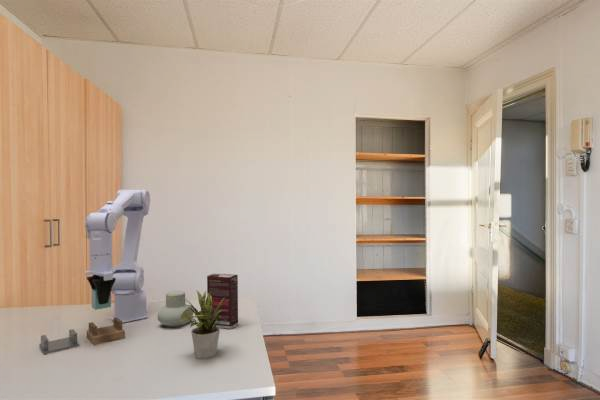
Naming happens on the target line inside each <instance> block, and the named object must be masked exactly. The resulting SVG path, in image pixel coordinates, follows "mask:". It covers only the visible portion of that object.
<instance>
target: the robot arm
mask: <svg viewBox="0 0 600 400" xmlns="http://www.w3.org/2000/svg"><path fill="white" fill-rule="evenodd" d="M150 205H151V195H150V192H149V191H148V190H147V189H122V188H121V189H119V190H117V191H116V196H115V200H108V201H106V204H105V205H103V206H102V207H101V208H100V209H98V210H97V211H96V212H90V214H88V215H87V216H86V217H85V222H84V228H85V230H86V234H87V235H86V236H87V239H89V240H88V241H89V251H88V252H89V270H85V271H84V274H85V275H92V276H87V277H86V281H88V283H89V285H90V288H91V290H92V289H96V291H97V296H98V302H99V304H106V303H108V300H109V296H110V292H111V295H112V294H113V295H114V296H113V297H114V300H113V302H114V303H113V304H114V309H113V310H114V316H110V317H109V318H110V319H111V320H112V321H113V322H114V320H113V318H116V317H117V318H119V319H120V320H121V321H122V324H124V323H129V322H133V321H139V320H142V319H147V318H148V315H147V294H146V292H145V290H144V289H143V286H144V285H145V284H144V283H145V277H144V274H145V273H144V268H143V267H142V266H141V265H140V264H138V263H137V262H138V253H139V247H140V241H141V235H142V227H143V222H144V218H145V217H146V216H147V215H149V211H150ZM122 216H124V217H126V218H127V221H126V222H127V223H126V227H125V235H124V240H123V246H122V250H121V251H122V253H121V257H120V262H118V263H117V264H115V265H114V266H113V232H114V231H115V230H116V226H117V224H118V220H120V218H121V217H122Z"/></svg>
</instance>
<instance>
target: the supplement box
mask: <svg viewBox="0 0 600 400" xmlns="http://www.w3.org/2000/svg"><path fill="white" fill-rule="evenodd" d="M238 280H239V279H238V274H231V273H228V274H227V273H216V272H215V273H212V274H208V275H207V276H206V281H207V282H206V294H207V293H208V294H209V298H210V295H211V297H212V308H211V315H210V319H211V318H212V316H213V314H214V312H215V310H216V308H217V307H219V306H220V305H221V304H222V303H223V304H222V305H221V306H220V307H219V309H218V311H219V310H222V311H220V312H219V313H218V314H217V315H216V316H220V318H219V319H218V320H217V321H216V322H215V323H214V325H215V324H216V323H217V322H219V321H221V320H223V321H221V322H219V323H218V324H217V325H216V326H217V327H219V328H220V329H228V330H231V329H234V328H235V327H237V326H238V325H239V297H238V296H239V290H238V289H239V288H238V287H239V285H238V284H239V283H238V282H239V281H238ZM209 292H210V293H209ZM222 300H223V301H222ZM227 300H228V301H227ZM221 301H222V302H221ZM225 301H226V302H225ZM220 302H221V304H220ZM219 304H220V305H219ZM218 305H219V306H218ZM218 311H217V312H218ZM210 319H209V321H210ZM224 319H226V320H227V321H226V320H224ZM210 323H211V322H210ZM214 325H213V326H214Z"/></svg>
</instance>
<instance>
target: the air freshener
mask: <svg viewBox="0 0 600 400" xmlns="http://www.w3.org/2000/svg"><path fill="white" fill-rule="evenodd" d="M176 297H180V298H176ZM183 298H184V299H183ZM185 299H186V291H183V290H171V291H168V292H167V293H166V294H165V306H163V307H162V308H160V310H159V311H158V313H157V320H158V322H159V323H160V324H162V325H164V326H166V327H182V326H184V325H186V324H187V323H189V322H191V321H192V319H190V320H191V321H190V320H189V319H186V320H183V321H181V320H182V319H183V318H186V317H185V316H184V315H186V316H187V317H192V316H194V312H193V311H192V310H191V309H190V308H188V307H190V306H189V305H190V304H186V300H185ZM185 307H186V308H185ZM181 314H183V315H181ZM180 321H181V322H180Z"/></svg>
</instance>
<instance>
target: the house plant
mask: <svg viewBox="0 0 600 400" xmlns="http://www.w3.org/2000/svg"><path fill="white" fill-rule="evenodd" d="M195 292H196V293H197V298H198V303H199V306H200V307H199V308H200V311H199V310H198V309H197V308H196V307H194V305H193V304H192V303H191V302H190V301H189V300H188V299H187V298H185V303H188V305H189V306H190V307H188V308H190V309H191V310H192V311H193V316H192V317H187V316H186V315H184V316H185V317H186V318H183V319H182V320H181V321H183V320H186V319H189V320H190V319H191V320H190V321H189V322H191V323H190V329H191V328H192V327H193V326H195V327H194V328H192V329H191V330H190V331H191V332H190V333H191V338H192V344H193V350H194V356H195V357H196V358H198V359H201V360H202V359H209V358H213V357H215V356H216V354H217V349H218V344H219V343H218V342H219V338H220V330H221V328H219V327H217V326H216V325H217V324H218V323H219V322H221V321H223V320H221V321H219V322H217V323H216V324H215V325H214V323H215V322H216V321H217V320H218V319H219V318H220V316H216V315H217V314H218V313H219V312H220V311H222V310H219V311H218V309H219V307H220V306H221V305H222V304H223V303H222V304H221V302H222V301H223V300H222V301H221V302H220V304H221V305H220V304H219V305H220V306H219V305H218V306H219V307H217V308H216V310H215V312H214V314H213V316H212V318H211V319H210V315H211V308H212V297H211V295H210V298H209V294H208V293H207V290H206V291H204V293H203V295H202V293H200V291H199V290H195ZM209 293H210V292H209ZM176 298H180V297H176ZM183 299H184V298H183ZM227 301H228V300H227ZM225 302H226V301H225ZM185 308H186V307H185ZM217 311H218V312H217ZM181 315H183V314H181ZM195 318H196V319H197V320H196V319H195ZM209 319H210V321H209ZM224 320H226V319H224ZM181 321H180V322H181ZM226 321H227V320H226ZM210 322H211V323H210ZM213 325H214V326H213Z"/></svg>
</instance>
